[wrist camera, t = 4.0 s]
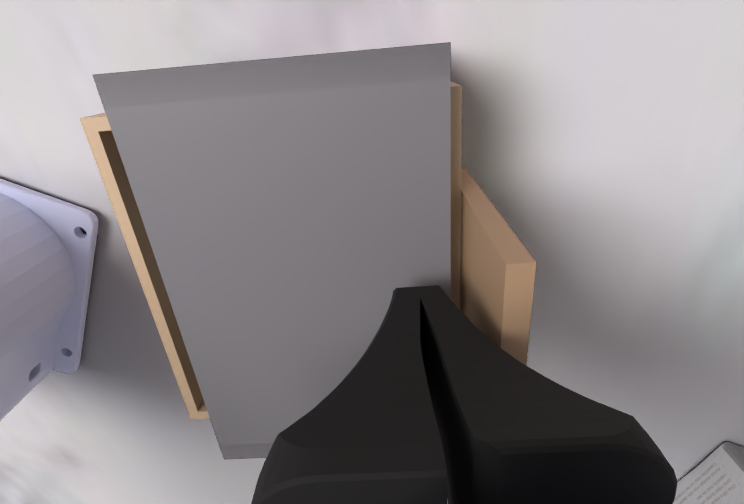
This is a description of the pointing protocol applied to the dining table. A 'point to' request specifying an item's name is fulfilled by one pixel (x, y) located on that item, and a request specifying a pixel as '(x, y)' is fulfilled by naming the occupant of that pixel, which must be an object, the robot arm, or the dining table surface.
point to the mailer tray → (468, 257)
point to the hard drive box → (715, 478)
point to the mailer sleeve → (287, 214)
